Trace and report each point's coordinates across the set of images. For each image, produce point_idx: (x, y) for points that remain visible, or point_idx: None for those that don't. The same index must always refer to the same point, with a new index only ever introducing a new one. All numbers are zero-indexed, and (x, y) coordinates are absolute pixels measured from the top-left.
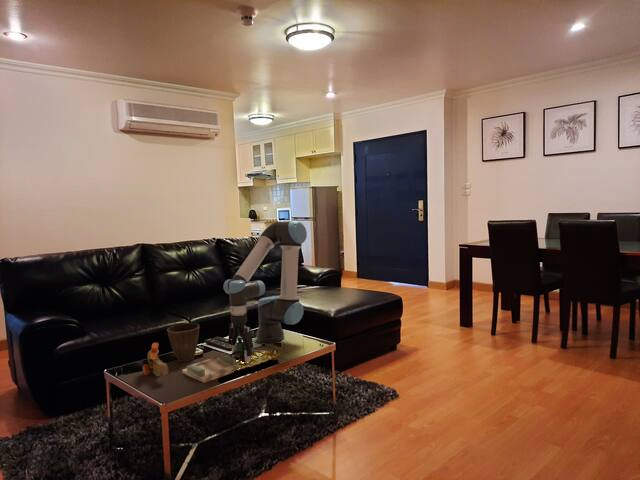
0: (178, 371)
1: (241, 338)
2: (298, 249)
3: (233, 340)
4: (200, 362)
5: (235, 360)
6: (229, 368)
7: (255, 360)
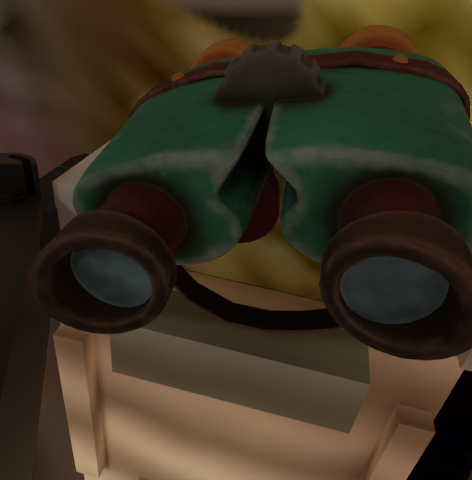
0: (54, 451)
1: (112, 244)
2: None
3: (43, 345)
4: (80, 424)
5: (369, 371)
6: (413, 458)
7: (465, 20)
